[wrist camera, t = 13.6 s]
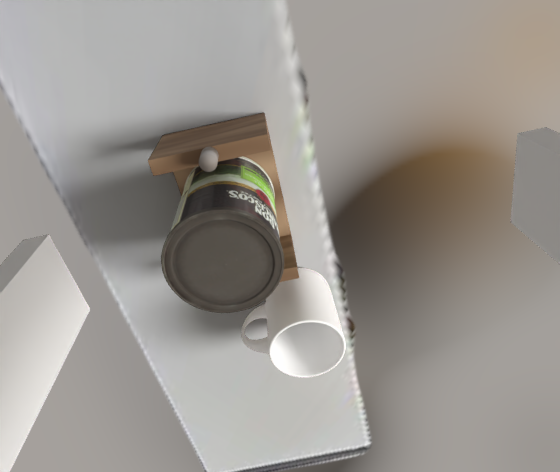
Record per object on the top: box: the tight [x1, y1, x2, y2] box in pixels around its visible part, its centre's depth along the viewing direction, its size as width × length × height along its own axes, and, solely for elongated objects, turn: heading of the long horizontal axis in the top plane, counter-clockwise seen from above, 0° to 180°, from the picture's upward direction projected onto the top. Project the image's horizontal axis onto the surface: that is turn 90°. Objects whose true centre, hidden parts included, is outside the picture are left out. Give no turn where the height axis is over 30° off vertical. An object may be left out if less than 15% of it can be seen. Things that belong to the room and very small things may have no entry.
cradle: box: [148, 113, 299, 282], centre depth 45 cm, size 16×11×10 cm
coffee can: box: [161, 156, 284, 313], centre depth 42 cm, size 10×10×14 cm
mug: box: [241, 268, 346, 378], centre depth 52 cm, size 9×12×11 cm
